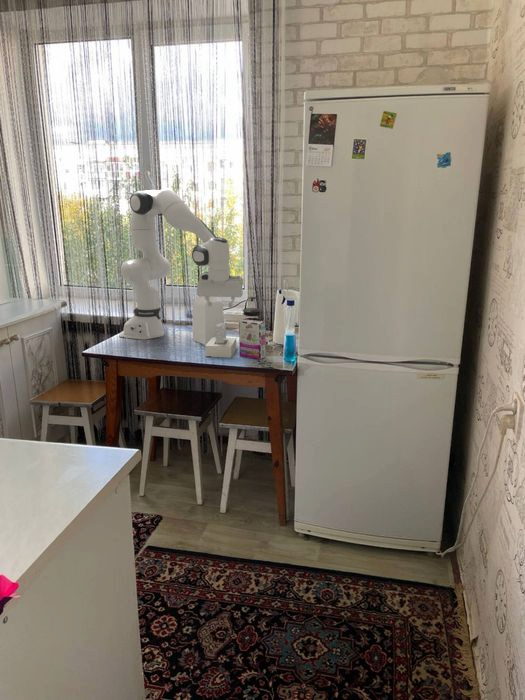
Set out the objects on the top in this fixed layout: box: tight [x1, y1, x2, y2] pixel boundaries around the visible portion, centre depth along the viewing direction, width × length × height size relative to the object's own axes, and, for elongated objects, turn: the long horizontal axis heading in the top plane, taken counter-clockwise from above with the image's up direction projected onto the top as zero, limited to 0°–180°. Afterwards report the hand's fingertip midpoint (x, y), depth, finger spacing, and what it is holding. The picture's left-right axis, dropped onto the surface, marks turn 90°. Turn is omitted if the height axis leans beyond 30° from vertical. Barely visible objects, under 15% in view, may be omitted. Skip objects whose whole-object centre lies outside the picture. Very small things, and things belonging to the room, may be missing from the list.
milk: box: [192, 295, 225, 346], centre depth 254 cm, size 12×12×26 cm
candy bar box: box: [238, 318, 267, 361], centre depth 230 cm, size 11×5×16 cm, turn 59°
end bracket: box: [216, 322, 227, 345], centre depth 237 cm, size 4×6×13 cm, turn 173°
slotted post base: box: [204, 337, 237, 358], centre depth 238 cm, size 12×14×5 cm
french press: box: [242, 296, 263, 321], centre depth 247 cm, size 12×9×23 cm
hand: (220, 306), depth 232 cm, fingers open, 8 cm apart
